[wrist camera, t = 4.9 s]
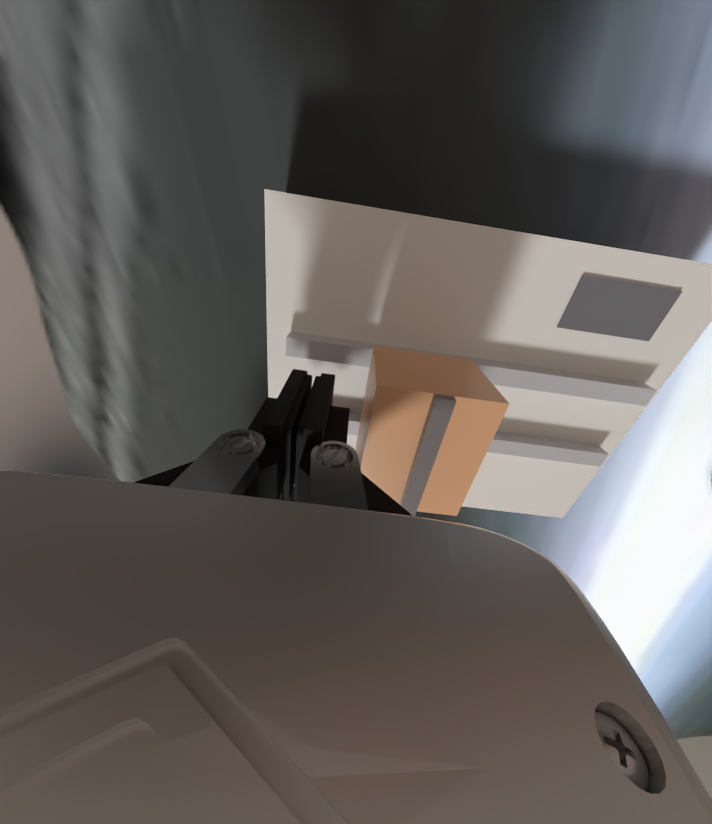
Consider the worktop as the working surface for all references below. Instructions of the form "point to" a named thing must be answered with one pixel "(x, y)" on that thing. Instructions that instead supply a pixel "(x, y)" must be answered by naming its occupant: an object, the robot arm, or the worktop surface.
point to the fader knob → (426, 427)
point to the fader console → (484, 329)
